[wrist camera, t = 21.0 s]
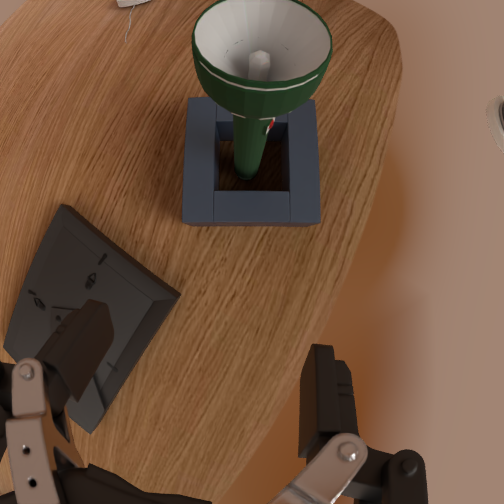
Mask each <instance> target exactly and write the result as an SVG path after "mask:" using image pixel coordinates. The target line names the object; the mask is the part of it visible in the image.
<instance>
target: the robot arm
mask: <svg viewBox="0 0 504 504" xmlns="http://www.w3.org/2000/svg"><path fill="white" fill-rule="evenodd" d="M499 117H500V121H501V125H502V127H503V130H504V102H502V103H501V104H500V106H499ZM113 339H114V328H113V324H112V320H111V316H110V312H109V308H108V305H107V304H106V303H103V302H100V301H96V300H92V299H89V300H87V301H86V303H85V304H84V305H83V306H82V307H81V309H79V308H77V309H75V310H74V311H72V312H71V313H69V314H68V315H67V316H66V317H65V318H64V320H63V321H62V322H61V325H59V326H58V327H57V328H56V330H55V332H53V334H52V335H51V336H50V337H49V339H48V340H47V341H46V343H45V344H44V345H43V347H42V348H41V349H40V351H39V352H38V353H37V355H36V356H35V357H34V358H25V359H22V360H20V361H19V362H18V363H17V364H9V363H3V362H1V361H0V462H1V459H2V457H3V455H4V452H5V450H6V448H7V447H8V455H9V462H10V469H11V475H12V480H13V485H14V490H15V491H12V492H9V493H7V494H4V495H1V496H0V504H212V502H211V501H206V500H201V499H196V498H192V497H187V496H183V495H179V494H160V493H148V492H144V491H142V490H140V489H138V488H137V487H135V486H133V485H132V484H130V483H129V482H127V481H126V480H124V479H122V478H121V477H119V476H118V475H116V474H114V473H112V472H109V471H107V470H104V469H102V468H100V467H97V466H95V465H93V464H90V463H89V465H88V468H85V467H84V464H83V461H82V459H81V456H80V454H79V453H78V451H77V449H76V446H75V443H74V439H73V435H72V430H71V426H70V421H69V416H68V410H67V406H66V403H67V401H68V399H69V400H71V401H74V402H76V403H78V402H79V400H80V398H81V397H82V395H83V393H84V391H85V389H86V388H87V386H88V384H89V382H90V380H91V379H92V377H93V375H94V373H95V372H96V370H97V368H98V366H99V365H100V363H101V361H102V360H103V358H104V356H105V355H106V353H107V351H108V350H109V348H110V346H111V344H112V342H113ZM353 394H354V392H353V386H352V378H351V372H350V370H349V368H348V367H347V365H346V364H345V362H344V361H341V360H335V357H334V349H333V346H330V345H322V344H312V345H311V348H310V350H309V353H308V356H307V358H306V361H305V363H304V366H303V369H302V372H301V378H300V416H299V447H298V457H299V458H306V467H305V468H304V469H303V470H302V471H301V472H300V473H299V474H298V475H297V476H296V477H295V478H294V479H293V480H292V481H291V482H290V483H289V484H288V485H287V486H286V487H285V488H283V490H281V491H280V493H278V494H277V495H276V496H275V497H274V498H273V499H272V500H270V501H269V502H268V503H267V504H332V503H333V502H334V501H335V500H336V499H337V498H338V496H339V495H344V496H348V497H352V498H354V504H428V493H427V481H426V470H425V463H424V460H423V458H422V457H421V456H420V455H419V454H418V453H417V452H415V451H413V450H407V449H406V450H401V451H399V452H397V453H396V454H394V455H393V454H389V453H385V452H381V451H378V450H374V449H372V448H370V447H368V446H367V445H366V444H365V443H364V441H363V440H362V439H361V438H360V436H359V433H358V426H357V417H356V409H355V400H354V396H353Z"/></svg>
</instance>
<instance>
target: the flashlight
mask: <svg viewBox="0 0 504 504" xmlns="http://www.w3.org/2000/svg"><path fill="white" fill-rule="evenodd" d="M192 52H193V58H194V64H195V69H196V73H197V76H198V79H199V81H200V83H201V85H202V87H203V89H204V91H205V92H206V93H207V94H208V95H209V96H210V97H211V98H212V99H213V101H214V102H215V103H216V104H217V105H219V106H221V107H223V108H224V109H226V110H227V111H229V112H231V113H232V114H233V134H234V166H235V173H236V175H237V176H238V177H239V178H240V179H242V180H250V179H253V178H254V177H255V176H256V174H257V172H258V169H259V165H260V161H261V158H262V154H263V150H264V147H265V143H266V139H267V136H268V132H269V129H270V128H272V126H273V123H274V120H275V117H278V116H281V115H284V114H287V113H290V112H292V111H293V110H295V109H296V108H298V107H299V106H301V105H302V104H304V103H306V102H307V101H308V99H309V98H310V97H311V96H312V95H313V93H314V92H315V91H316V89H317V88H318V86H319V84H320V82H321V80H322V78H323V76H324V74H325V72H326V70H327V67H328V64H329V62H330V59H331V55H332V52H333V49H332V35H331V33H330V31H329V28H328V26H327V24H326V23H325V22H324V20H323V19H322V18H321V17H320V15H319V14H318V13H316V12H315V11H314V10H313V9H311V8H310V7H309V6H307V5H305V4H304V3H302V2H300V1H298V0H219V1H217V2H215V3H214V4H212V5H211V6H209V7H208V8H207V9H205V10H204V11H203V13H202V14H201V15H200V17H199V18H198V19H197V21H196V23H195V26H194V29H193V33H192Z"/></svg>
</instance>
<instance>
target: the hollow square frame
mask: <svg viewBox="0 0 504 504" xmlns="http://www.w3.org/2000/svg"><path fill="white" fill-rule="evenodd" d="M220 141H234V134H233V114H232V113H231V112H229V111H227V110H226V109H224V108H223V107H221V106H219V105H217V104H216V103H215V102H214V101H213V99H212V98H211V97H196V98H188V108H187V120H186V134H185V150H184V169H183V195H182V222H183V223H185V224H188V225H191V226H290V227H308V226H311V225H315V224H318V223H320V179H319V155H318V137H317V122H316V109H315V100H311V99H308V101H307V102H306V103H304V104H302V105H301V106H299V107H298V108H296V109H295V110H293V111H292V112H290V113H287V114H284V115H281V116H278V117H275V120H274V123H273V126H272V128H270V129H269V132H268V136H267V139H266V141H281V176H282V191H219V159H220Z"/></svg>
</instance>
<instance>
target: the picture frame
mask: <svg viewBox="0 0 504 504" xmlns="http://www.w3.org/2000/svg"><path fill="white" fill-rule="evenodd" d="M180 296H181V294H180V293H179V292H177V291H176V290H175V289H173V288H172V287H171V286H169V285H168V284H167V283H165V282H164V281H162V280H161V279H160V278H158V277H157V276H156V275H155V274H153V273H152V272H151V271H149V270H148V269H147V268H145V267H144V266H143V265H141V264H140V263H139V262H138V261H136V260H135V259H134V258H132V257H131V256H130V255H129V254H127V253H126V252H125V251H124V250H122V249H121V248H120V247H119V246H117V245H116V244H115V243H114V242H112V241H111V240H110V239H109V238H108V237H106V236H105V235H104V234H103V233H101V232H100V231H99V230H98V229H97V228H95V227H94V226H93V225H92V224H91V223H90V222H88V221H87V220H86V219H85V218H84V217H83V216H81V215H80V214H79V213H78V212H77V211H76V210H74V209H73V208H72V207H71V206H68V205H63V204H61V205H60V207H59V208H58V210H57V212H56V214H55V216H54V218H53V220H52V222H51V224H50V226H49V227H48V229H47V231H46V234H45V236H44V238H43V240H42V242H41V244H40V246H39V248H38V250H37V253H36V255H35V257H34V259H33V262H32V264H31V266H30V269H29V271H28V274H27V276H26V279H25V281H24V284H23V286H22V289H21V292H20V294H19V297H18V300H17V303H16V305H15V308H14V311H13V314H12V318H11V321H10V324H9V327H8V331H7V334H6V338H5V341H4V345H3V348H4V349H5V350H6V351H7V352H8V354H9V355H10V356H11V357H12V358H13V359H14V360H15V361H16V362H17V363H18V362H19V361H20V360H22V359H25V358H34V357H35V356H36V355H37V353H38V352H39V351H40V349H41V348H42V347H43V345H44V344H45V343H46V341H47V340H48V339H49V337H50V336H51V335H52V334H53V332H55V330H56V328H57V327H58V326H59V325H61V322H62V321H63V320H64V318H65V317H66V316H67V315H68V314H69V313H71V312H72V311H74V310H75V309H77V308H79V309H81V307H82V306H83V305H84V304H85V303H86V301H87V300H89V299H92V300H96V301H100V302H103V303H106V304H107V305H108V308H109V312H110V316H111V320H112V324H113V328H114V339H113V342H112V344H111V346H110V348H109V350H108V351H107V353H106V355H105V356H104V358H103V360H102V361H101V363H100V365H99V366H98V368H97V370H96V372H95V373H94V375H93V377H92V379H91V380H90V382H89V384H88V386H87V388H86V389H85V391H84V393H83V395H82V397H81V398H80V400H79V402H78V403H76V402H74V401H71V400H69V399H68V401H67V403H66V406H67V410H68V416H69V417H70V418H71V419H72V420H73V421H75V422H76V423H77V424H78V425H79V426H81V427H82V428H83V429H84V430H85V431H87V432H88V433H89V434H91V433H92V432H93V431H94V430H95V428H96V427H97V426H98V425H99V423H100V422H101V420H102V418H103V417H104V415H105V413H106V412H107V410H108V408H109V407H110V405H111V403H112V402H113V400H114V399H115V397H116V395H117V394H118V392H119V390H120V389H121V387H122V386H123V384H124V382H125V381H126V379H127V378H128V376H129V374H130V373H131V371H132V370H133V368H134V367H135V365H136V363H137V362H138V360H139V359H140V357H141V356H142V354H143V352H144V351H145V349H146V348H147V346H148V345H149V343H150V342H151V340H152V339H153V337H154V335H155V334H156V332H157V331H158V329H159V328H160V326H161V325H162V323H163V322H164V320H165V319H166V317H167V316H168V314H169V313H170V311H171V310H172V308H173V307H174V305H175V304H176V302H177V301H178V299H179V298H180Z"/></svg>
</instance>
